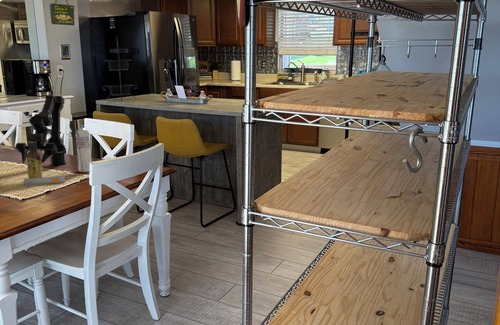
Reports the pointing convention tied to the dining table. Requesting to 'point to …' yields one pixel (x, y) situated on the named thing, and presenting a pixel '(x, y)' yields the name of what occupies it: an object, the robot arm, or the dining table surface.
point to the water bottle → (83, 149)
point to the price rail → (44, 180)
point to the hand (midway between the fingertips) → (32, 162)
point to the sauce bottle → (34, 161)
